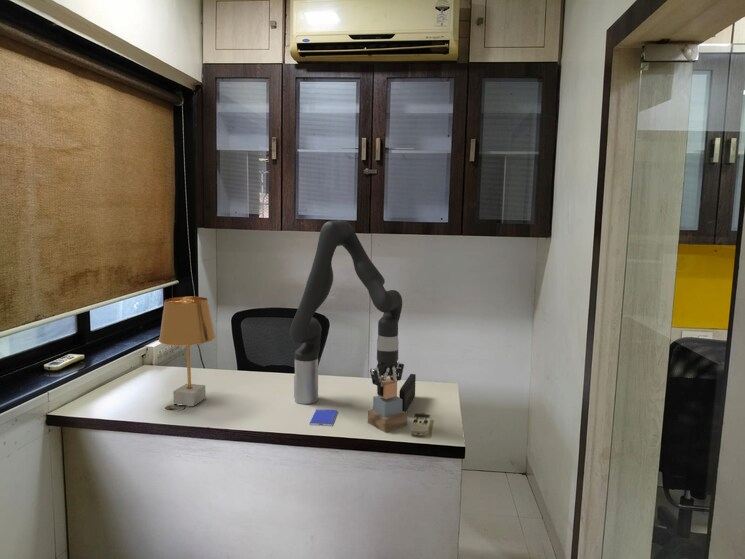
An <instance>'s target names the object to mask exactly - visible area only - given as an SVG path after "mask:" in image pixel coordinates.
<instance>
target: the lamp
mask: <svg viewBox="0 0 745 559" xmlns="http://www.w3.org/2000/svg"><path fill="white" fill-rule="evenodd" d="M161 318H162V319H161V324H160V333H159V338H158V342H159V343H160V344H163V345H167V346H175V347H176V346H179V347H180V346H181V347H182V346H185V347H186V350H185V351H186V373H187V376H186V377H187V383H184V384H183V385H181V386H179V387H178V388H175V389H174V390H173V391H172V392H173V393H172V395H173V405H174V404H182V405H190V406H194V405H196V404H197V403H199V402H200V401H201V402H203V401H204V400H206V399H205V398H207V395H206V394H207V392H206V391H207V390H206V384H196V383H192V372H191V369H192V368H191V367H192V366H191V346H194V345H200V344H201V345H202V344H206V343H209V342H212V341H214V340H215V339H216V338H217V335H216V332H215V328H214V322H213V319H212V314H211V309H210V304H209V300H208V298H207V297H203V296H178V297H172V298H168V299H167V298H166V299H165V300H164V303H163V311H162V317H161ZM203 399H204V400H203ZM202 400H203V401H202ZM201 402H200V403H201ZM200 403H199V404H200ZM197 405H198V404H197ZM197 405H196V406H197ZM194 407H195V406H194Z"/></svg>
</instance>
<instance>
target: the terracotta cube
mask: <svg viewBox="0 0 745 559" xmlns="http://www.w3.org/2000/svg"><path fill="white" fill-rule="evenodd" d="M376 396H379V395H378V393H377V392H376ZM395 396H397V397H398V381H397V382H395V381H393V380H390V378H386V380H385V381H384V385H383V396H382V397H383V398H385V399H388V398H392V397H395Z"/></svg>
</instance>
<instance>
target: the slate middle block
mask: <svg viewBox="0 0 745 559" xmlns="http://www.w3.org/2000/svg"><path fill="white" fill-rule="evenodd" d="M402 400H403V399H401V398H399V396H398V395H397V396H395V397H392V398H388V399H385V398H383V397H381V396H378V395H375V396H373V397H372V409H373V410H374V411H375V412H377V413H378V414H380V415H382V416H383V417H388V416H392V415H396V414H400V413H402Z"/></svg>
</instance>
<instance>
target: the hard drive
mask: <svg viewBox="0 0 745 559" xmlns="http://www.w3.org/2000/svg"><path fill="white" fill-rule="evenodd" d="M337 414H338V410H337V409H323V408H317V409H315V411H314V413H313V415H312V417H311V419H310V422H309V426H320V425H321V426H324V427H326V426H327V427H333V425H334V423H335V419H336V417H337Z"/></svg>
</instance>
